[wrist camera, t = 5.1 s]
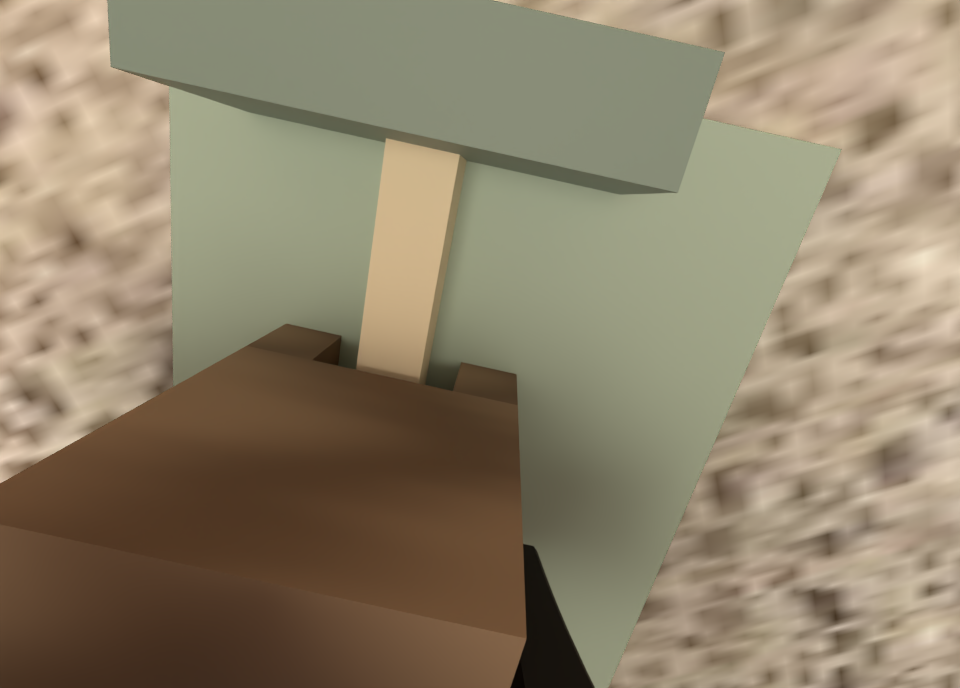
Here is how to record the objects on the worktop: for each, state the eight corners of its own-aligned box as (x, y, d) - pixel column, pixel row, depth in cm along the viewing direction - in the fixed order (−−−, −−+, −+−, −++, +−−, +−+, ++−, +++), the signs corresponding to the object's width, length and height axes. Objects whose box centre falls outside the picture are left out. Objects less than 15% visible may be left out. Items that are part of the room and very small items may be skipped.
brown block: (516, 374, 9) (527, 638, 4) (454, 615, 12) (402, 1012, 6) (286, 323, 9) (-53, 512, 4) (267, 575, 12) (37, 934, 6)
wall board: (806, 154, 9) (1032, 120, 5) (563, 744, 14) (581, 940, 11) (205, 21, 9) (-31, -117, 5) (199, 666, 14) (88, 834, 11)
